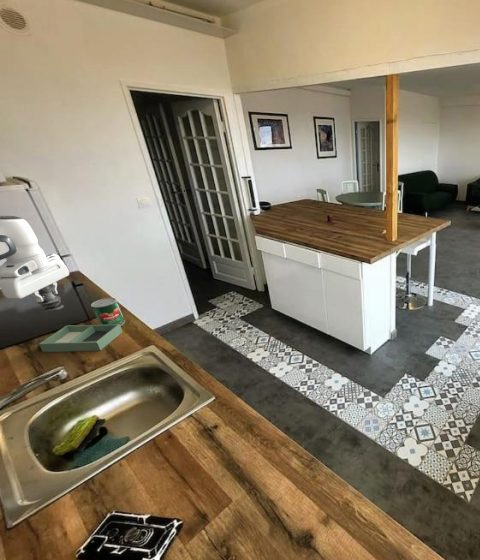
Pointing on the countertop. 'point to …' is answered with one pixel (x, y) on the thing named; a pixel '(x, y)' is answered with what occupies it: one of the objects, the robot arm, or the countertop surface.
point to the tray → (81, 338)
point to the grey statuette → (50, 300)
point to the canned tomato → (108, 311)
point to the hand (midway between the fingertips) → (48, 297)
